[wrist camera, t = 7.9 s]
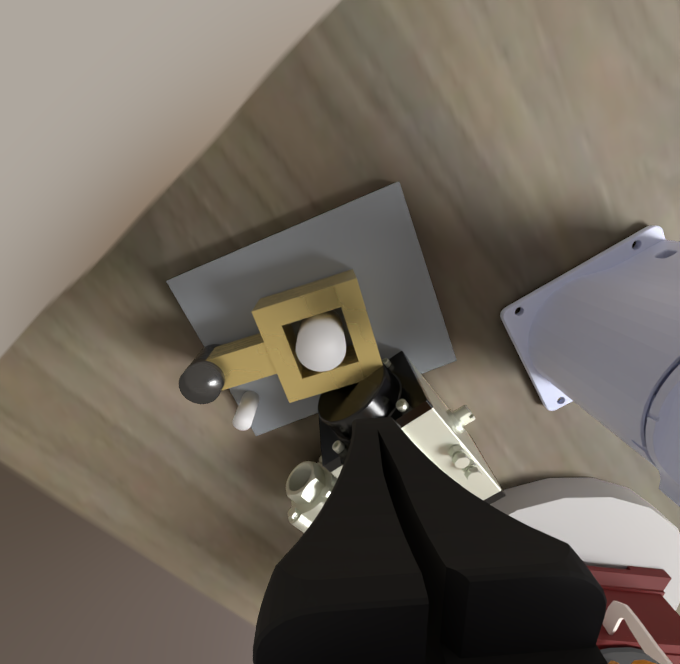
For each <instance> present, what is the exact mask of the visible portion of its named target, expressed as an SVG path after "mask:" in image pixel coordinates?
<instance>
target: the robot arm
mask: <svg viewBox="0 0 680 664" xmlns="http://www.w3.org/2000/svg"><path fill="white" fill-rule="evenodd" d="M635 241H636V245H635V247H633V248H632V244H633V242H635ZM518 307H520V312H519V313H517V314H515V310H516V309H517V308H518ZM500 317H501V320H502V322H503V324H504V326H505V328H506V330H507V332H508V334H509V336H510V338H511V340H512V342H513V344H514V346H515V348H516V350H517V353H518V355H519V357H520V359H521V361H522V363H523V365H524V367H525V369H526V371H527V373H528V375H529V377H530V379H531V381H532V383H533V385H534V387H535V389H536V391H537V393H538V395H539V397H540V399H541V401H542V403H543V405H544V407H545V408H546V409H548V410H550V411H554V410H556V409H558V408H560V407H562V406H564V405H566V404H568V403H570V402H572V401H574V402H575V403H576V404H578V405H579V406H580V407H581V408H583V409H584V410H585V411H586V412H588V413H589V414H590V415H591V416H593V417H594V418H595V419H596V420H598V421H599V422H600V423H601V424H603V425H604V426H605V427H606V428H608V429H609V430H610V431H611V432H613V433H614V434H615V435H616V436H618V437H619V438H620V439H621V440H623V441H624V442H625V443H626V444H628V445H629V446H630V447H631V448H633V449H634V450H635V451H636V452H638V453H639V454H640V455H641V456H643V457H644V458H645V459H646V460H648V461H649V462H650V463H651V464H653V465H654V466H655V467H656V468H657V469H658V470H659V472H660V479H661V480H660V485H659V489H660V490H661V491H662V492H663V493H664V494H665V495H667V496H668V497H669V498H670V499H671V500H672V501H674V502H675V503H676V504H677V505H678V506H679V507H680V241H672V240H665V236H664V233H663V230H662V228H661V227H660V226H656V225H650V226H647V227H645V228H643V229H642V230H640V231H638V232H636V233H635V234H633V235H631V236H629V237H628V238H626V239H624V240H622V241H621V242H619V243H617V244H615V245H614V246H612V247H610V248H608V249H606V250H605V251H603V252H601V253H599V254H598V255H596V256H594V257H592V258H591V259H589V260H587V261H585V262H584V263H582V264H580V265H578V266H577V267H575V268H573V269H571V270H570V271H568V272H566V273H564V274H563V275H561V276H559V277H557V278H556V279H554V280H552V281H550V282H549V283H547V284H545V285H543V286H542V287H540V288H538V289H536V290H535V291H533V292H531V293H529V294H528V295H526V296H524V297H522V298H521V299H519V300H517V301H515V302H514V303H512V304H510V305H508V306H507V307H505V308H504V309H503V310H502V311H501V314H500ZM560 397H561V399H560V400H559V401H557V400H558V398H560ZM606 605H607V599H606V596H605V592H604V590H603V588H602V587H601V585H600V584H599V583H598V581H597V580H596V578H595V577H594V576H593V574H592V573H591V571H590V570H589V569H588V567H587V566H586V565H585V563H584V562H583V561H582V559H581V558H580V557H579V556H578V555H577V553H576V552H575V551H574V550H573V549H572V547H571V546H570V545H569V544H568V543H566V542H564V541H561V540H559V539H557V538H555V537H552V536H550V535H548V534H546V533H543V532H541V531H539V530H537V529H534V528H532V527H530V526H528V525H526V524H524V523H522V522H520V521H518V520H516V519H515V518H513V517H511V516H509V515H507V514H505V513H503V512H502V511H500V510H498V509H496V508H495V507H493V506H491V505H490V504H488V503H487V502H485V501H483V500H482V499H480V498H479V497H477V496H475V495H474V494H472V493H471V492H470V491H468V490H467V489H465V488H464V487H463V486H461V485H460V484H459V483H457V482H456V481H455V480H453V479H452V478H451V477H449V476H448V475H447V474H446V473H444V472H443V471H442V470H441V469H440V468H439V467H438V466H437V465H435V464H434V463H433V462H432V461H431V460H430V459H429V458H428V457H427V456H426V455H425V454H424V453H423V452H422V451H421V450H420V449H419V448H418V447H417V446H416V445H415V444H414V443H413V442H412V441H411V439H410V438H409V437H408V436H407V435H406V434H405V433H404V432H403V430H402V429H401V428H400V427H399V426H398V424H397V423H396V422H395V421H394V420H393V419H392V418H391V417H385V418H367V419H355V420H354V421H353V422H352V437H351V442H350V446H349V449H348V453H347V456H346V459H345V462H344V464H343V467H342V469H341V472H340V474H339V477H338V479H337V481H336V483H335V485H334V487H333V489H332V491H331V493H330V495H329V497H328V499H327V500H326V502H325V504H324V505H323V507H322V509H321V510H320V512H319V513H318V515H317V516H316V518H315V519H314V521H313V522H312V523H311V525H310V526H309V527H308V529H307V530H306V531H305V533H304V534H303V535H302V537H301V538H300V539H299V541H298V542H297V543H296V544H295V545H294V546H293V548H292V549H291V550H290V551H289V552H288V553H287V554H286V555H285V556H284V557H283V559H282V560H281V561H280V562H279V563H278V564H277V565H276V566H275V569H274V571H273V574H272V576H271V579H270V581H269V584H268V586H267V589H266V592H265V595H264V598H263V601H262V604H261V608H260V612H259V616H258V620H257V625H256V632H255V639H254V645H253V663H254V664H608V663H607V661H606V659H605V658H604V656H603V655H602V653H601V651H600V650H599V648H598V647H597V645H596V643H597V639H598V636H599V633H600V630H601V626H602V623H603V620H604V617H605V613H606Z"/></svg>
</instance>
